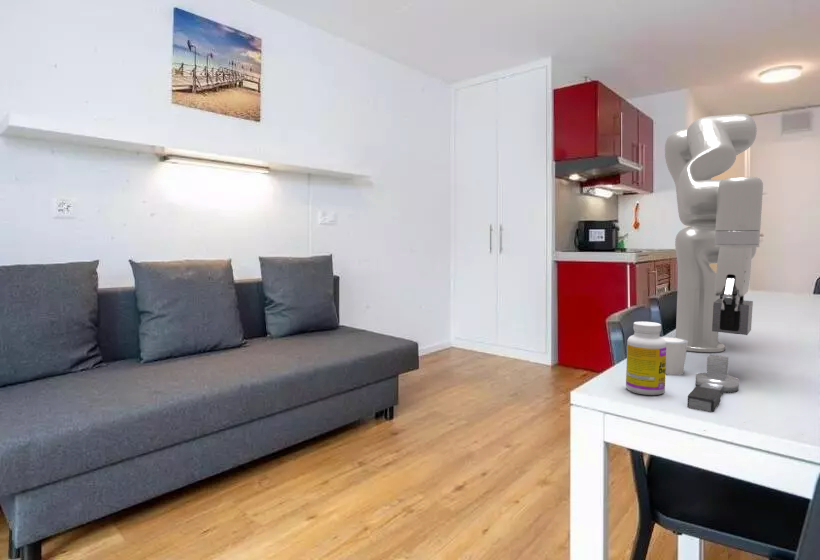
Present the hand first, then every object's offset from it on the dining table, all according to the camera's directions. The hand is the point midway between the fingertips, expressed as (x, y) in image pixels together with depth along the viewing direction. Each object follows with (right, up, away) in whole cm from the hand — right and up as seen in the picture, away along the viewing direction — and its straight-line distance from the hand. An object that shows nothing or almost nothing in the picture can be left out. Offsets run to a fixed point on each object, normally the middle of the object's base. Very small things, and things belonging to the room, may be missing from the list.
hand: (731, 326), depth 100 cm
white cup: (-10, -10, +5) cm, 16 cm away
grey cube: (0, -1, 0) cm, 1 cm away
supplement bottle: (-22, -12, -8) cm, 26 cm away
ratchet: (-12, -12, -11) cm, 20 cm away
